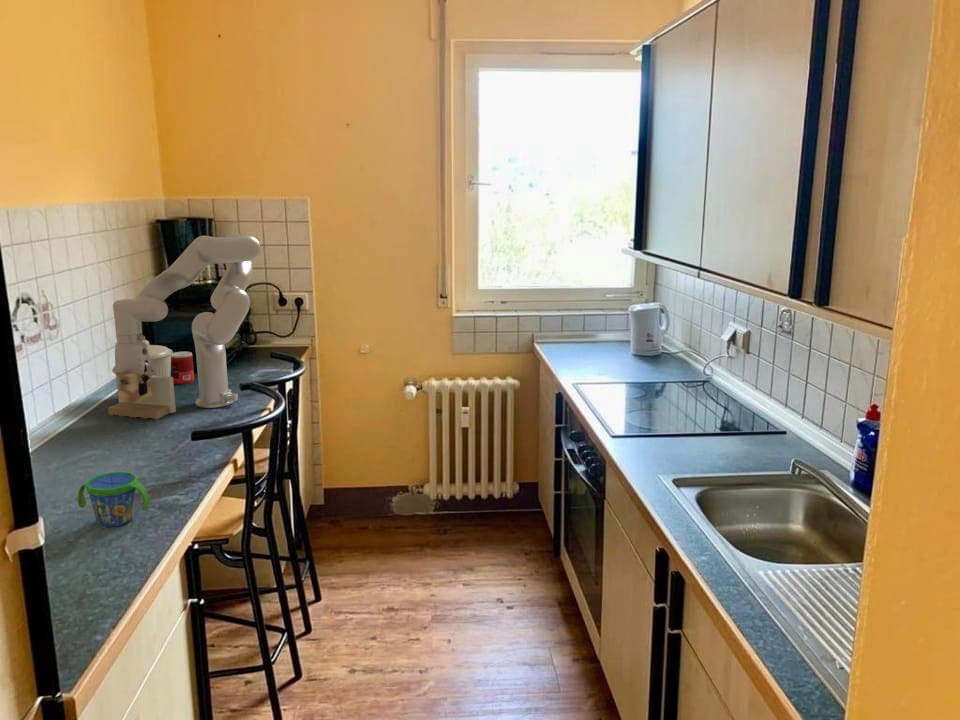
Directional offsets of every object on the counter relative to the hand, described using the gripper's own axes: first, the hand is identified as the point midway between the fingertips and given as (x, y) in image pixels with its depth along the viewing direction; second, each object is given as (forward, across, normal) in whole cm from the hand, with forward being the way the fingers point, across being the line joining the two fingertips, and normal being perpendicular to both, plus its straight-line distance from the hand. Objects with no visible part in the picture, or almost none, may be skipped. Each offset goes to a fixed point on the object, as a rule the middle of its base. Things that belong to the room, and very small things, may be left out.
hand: (135, 393), depth 245 cm
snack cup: (+9, -43, +66) cm, 79 cm away
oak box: (+2, 0, 0) cm, 2 cm away
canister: (+9, +10, -20) cm, 24 cm away
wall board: (+8, +2, -4) cm, 10 cm away
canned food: (+9, +11, -42) cm, 44 cm away
